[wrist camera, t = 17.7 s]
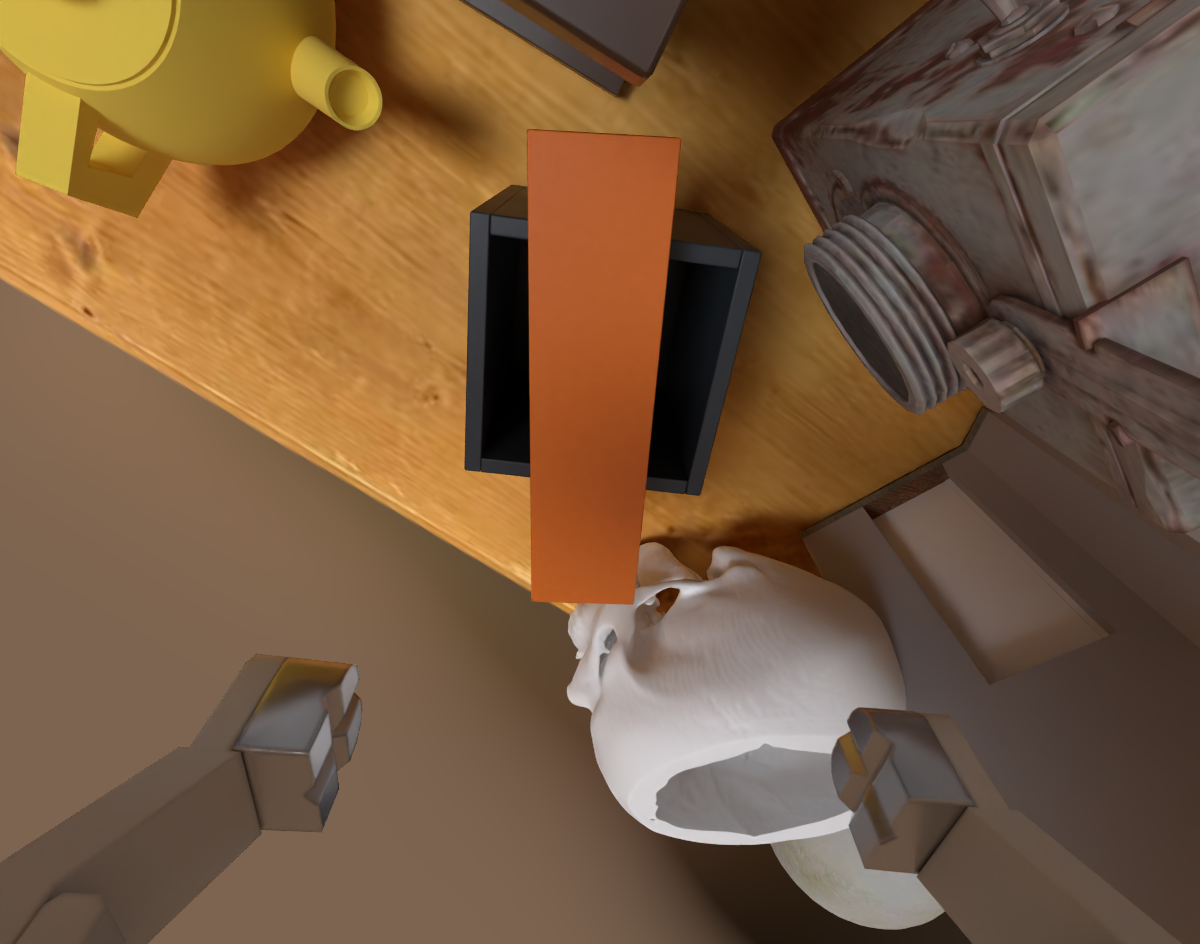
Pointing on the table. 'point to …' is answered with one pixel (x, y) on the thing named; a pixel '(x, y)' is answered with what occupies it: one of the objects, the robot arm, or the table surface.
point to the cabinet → (1047, 647)
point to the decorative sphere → (855, 883)
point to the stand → (592, 34)
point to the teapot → (171, 87)
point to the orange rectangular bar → (594, 352)
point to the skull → (729, 695)
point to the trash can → (687, 351)
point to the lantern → (1024, 225)
